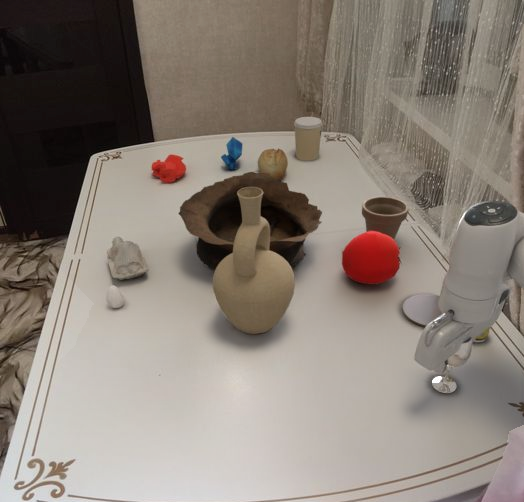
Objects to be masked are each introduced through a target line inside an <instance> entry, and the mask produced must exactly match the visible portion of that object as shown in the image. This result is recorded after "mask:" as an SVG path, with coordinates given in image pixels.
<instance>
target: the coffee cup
mask: <svg viewBox="0 0 524 502" xmlns="http://www.w3.org/2000/svg"><path fill="white" fill-rule="evenodd" d="M293 126H294V143H295V157H296V159H297V160H300V161H303V162H310V161H315V160H317V159H318V158H319V154H320V145H321V137H322V128H323V122H322V119H321V118H319V117H315V116H303V117H298V118H296V119H295V121H294V123H293Z"/></svg>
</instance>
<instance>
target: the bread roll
mask: <svg viewBox="0 0 524 502" xmlns="http://www.w3.org/2000/svg"><path fill="white" fill-rule="evenodd" d="M288 165H289V161H288V157H287V155H286V153H285V152H284V151H283V150H282V149H280V148H277V149H275V148H268V149H264V150H263V151H262V152H261V153H260V155H259V157H258V158H257V167H258V173H269V174H270V175H271V176H272V177H274V178H276V179H277V180H279V181H281V180H282V179H283V177H284V176H285V174H286V173H287V169H288Z"/></svg>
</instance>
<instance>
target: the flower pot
mask: <svg viewBox="0 0 524 502" xmlns="http://www.w3.org/2000/svg"><path fill="white" fill-rule="evenodd" d="M409 210H410V209H409V205H408V204H407V203H406V202H405V201H403V200H401V199H399V198H395V197H390V196H373V197H370V198H368V199H365V200H364V201H363V202H362V205H361V216H362V217H363V219H364V221H365V230H366V231H365V232H368V231H376V232H380V233H382V234H386V235H388V236H390V237H392V238H393V239H394V240H395V238H396V237H397V235H398V232H399V230H400V227H401V225H402V223H403V222H404V221H406V219H407V217H408V213H409Z"/></svg>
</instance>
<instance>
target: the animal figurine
mask: <svg viewBox="0 0 524 502" xmlns="http://www.w3.org/2000/svg"><path fill="white" fill-rule="evenodd" d="M182 160H185V159H184V157H182V156H180V155H178V154H173V153H172V154H171V153H170V154H168V155H167V157H166V158H165V160H164V161H162V160H161V159H157V160H156V161H153V162H152V164H151V167H150V168H151V171H152V172H151V173H152V175H153V176H155V177H157V178H159V180H160V182H162V183H173V182H175V181H176V179H180V178H182V177H183V176H184V175H185V173H186V172H187V166H186V164H185V163H184V162H183V161H182Z"/></svg>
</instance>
